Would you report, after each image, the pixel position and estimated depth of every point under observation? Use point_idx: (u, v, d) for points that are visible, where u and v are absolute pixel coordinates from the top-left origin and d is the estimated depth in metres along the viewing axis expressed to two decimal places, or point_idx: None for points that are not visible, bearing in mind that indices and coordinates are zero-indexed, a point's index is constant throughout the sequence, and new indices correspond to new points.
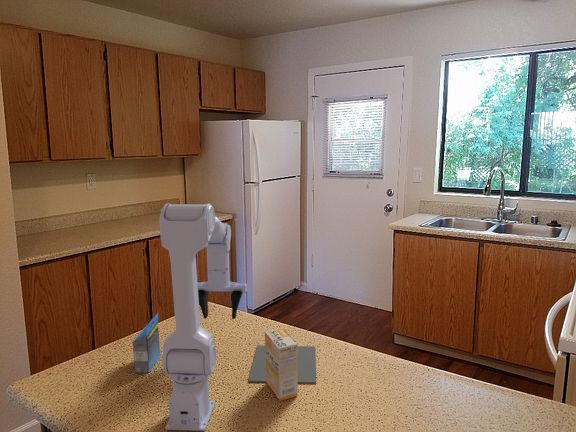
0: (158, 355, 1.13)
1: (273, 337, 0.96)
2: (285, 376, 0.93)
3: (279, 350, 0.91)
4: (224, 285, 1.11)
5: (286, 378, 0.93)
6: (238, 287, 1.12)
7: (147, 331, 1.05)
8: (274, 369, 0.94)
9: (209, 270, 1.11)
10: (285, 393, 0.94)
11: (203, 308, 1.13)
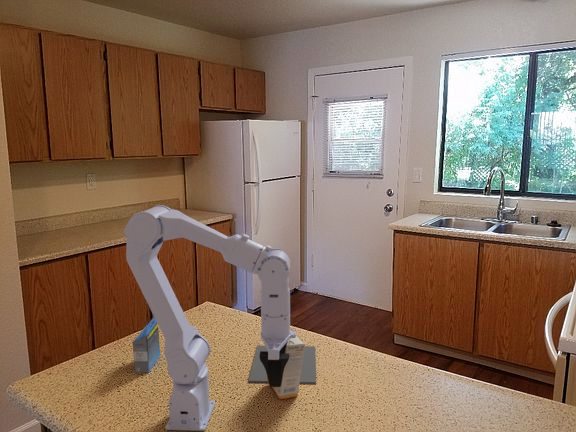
0: (158, 355, 1.13)
1: None
2: (289, 374, 0.94)
3: (287, 347, 0.92)
4: (264, 335, 0.84)
5: (289, 377, 0.94)
6: (267, 347, 0.80)
7: (147, 331, 1.05)
8: None
9: None
10: (286, 392, 0.94)
11: None
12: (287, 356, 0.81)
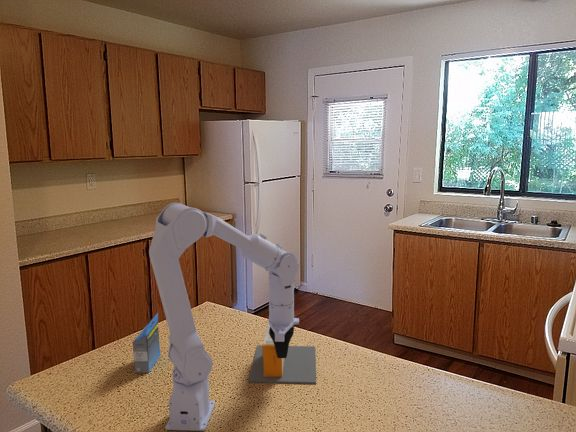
0: (158, 355, 1.13)
1: None
2: None
3: (268, 324, 1.14)
4: (272, 321, 0.97)
5: None
6: (274, 331, 0.94)
7: (147, 331, 1.05)
8: None
9: None
10: (268, 342, 1.04)
11: None
12: (292, 332, 0.98)
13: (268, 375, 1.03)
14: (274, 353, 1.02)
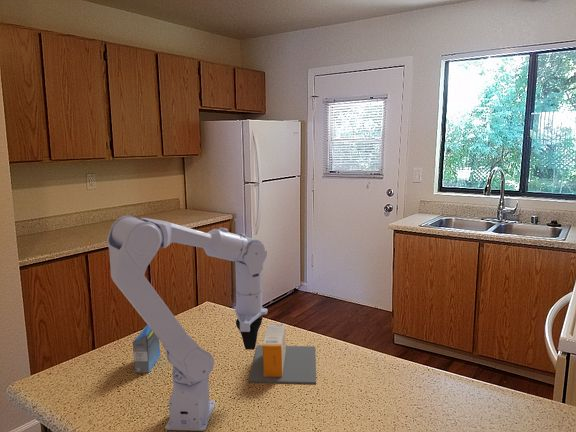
0: (158, 355, 1.13)
1: None
2: (271, 334, 1.08)
3: (268, 323, 1.14)
4: (238, 311, 0.94)
5: (271, 335, 1.07)
6: (239, 321, 0.91)
7: (147, 331, 1.05)
8: None
9: None
10: (268, 342, 1.04)
11: None
12: (259, 322, 0.95)
13: (268, 375, 1.03)
14: (274, 353, 1.02)
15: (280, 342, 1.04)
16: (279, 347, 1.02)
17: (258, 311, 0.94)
